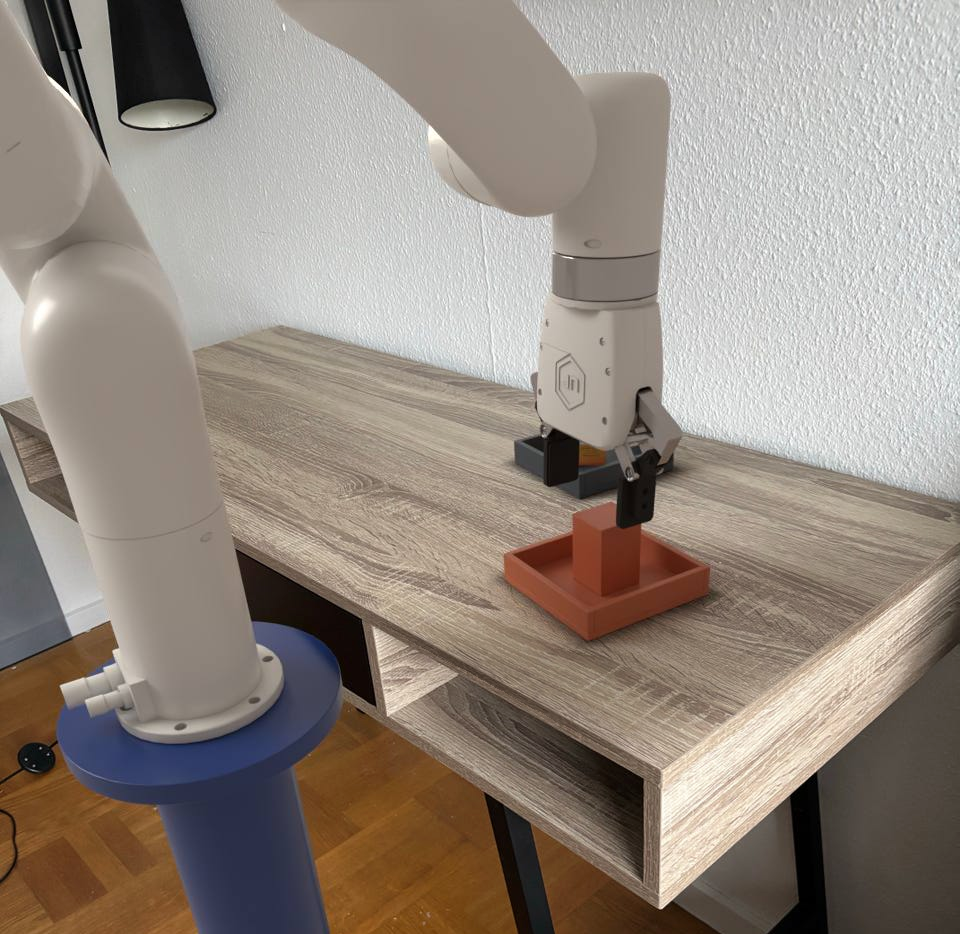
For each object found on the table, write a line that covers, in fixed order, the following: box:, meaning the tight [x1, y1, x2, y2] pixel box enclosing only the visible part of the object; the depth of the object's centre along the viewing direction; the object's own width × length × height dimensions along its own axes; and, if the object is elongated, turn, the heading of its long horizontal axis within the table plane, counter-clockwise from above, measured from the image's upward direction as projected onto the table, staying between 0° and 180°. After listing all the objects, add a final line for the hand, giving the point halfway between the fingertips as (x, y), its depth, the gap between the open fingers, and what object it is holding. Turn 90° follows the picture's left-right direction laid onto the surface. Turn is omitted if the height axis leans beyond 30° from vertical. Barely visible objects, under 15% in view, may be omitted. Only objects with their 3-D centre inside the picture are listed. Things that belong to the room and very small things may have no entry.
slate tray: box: [513, 433, 675, 500], centre depth 101 cm, size 12×12×3 cm
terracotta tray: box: [503, 528, 711, 642], centre depth 79 cm, size 12×12×3 cm
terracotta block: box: [572, 501, 642, 597], centre depth 78 cm, size 4×4×6 cm
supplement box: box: [579, 441, 606, 467], centre depth 99 cm, size 3×3×10 cm
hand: (596, 502), depth 75 cm, fingers open, 9 cm apart
